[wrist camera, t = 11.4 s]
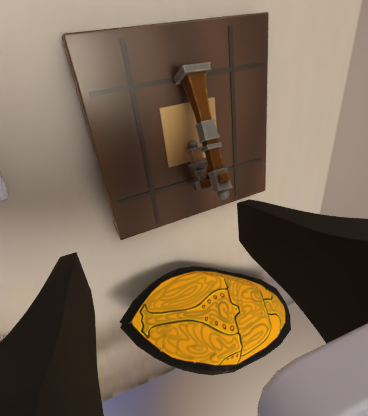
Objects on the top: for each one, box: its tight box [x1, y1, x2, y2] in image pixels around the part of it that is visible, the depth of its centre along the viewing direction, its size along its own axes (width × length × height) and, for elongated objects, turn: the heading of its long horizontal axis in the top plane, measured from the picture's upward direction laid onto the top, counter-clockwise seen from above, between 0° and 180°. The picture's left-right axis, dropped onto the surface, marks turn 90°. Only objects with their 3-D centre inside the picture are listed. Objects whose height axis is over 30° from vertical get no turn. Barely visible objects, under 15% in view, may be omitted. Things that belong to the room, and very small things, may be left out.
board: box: [62, 12, 268, 240], centre depth 20 cm, size 13×13×1 cm
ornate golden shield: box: [120, 266, 291, 375], centre depth 26 cm, size 9×17×6 cm
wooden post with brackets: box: [173, 62, 233, 200], centre depth 19 cm, size 2×8×4 cm, turn 6°
